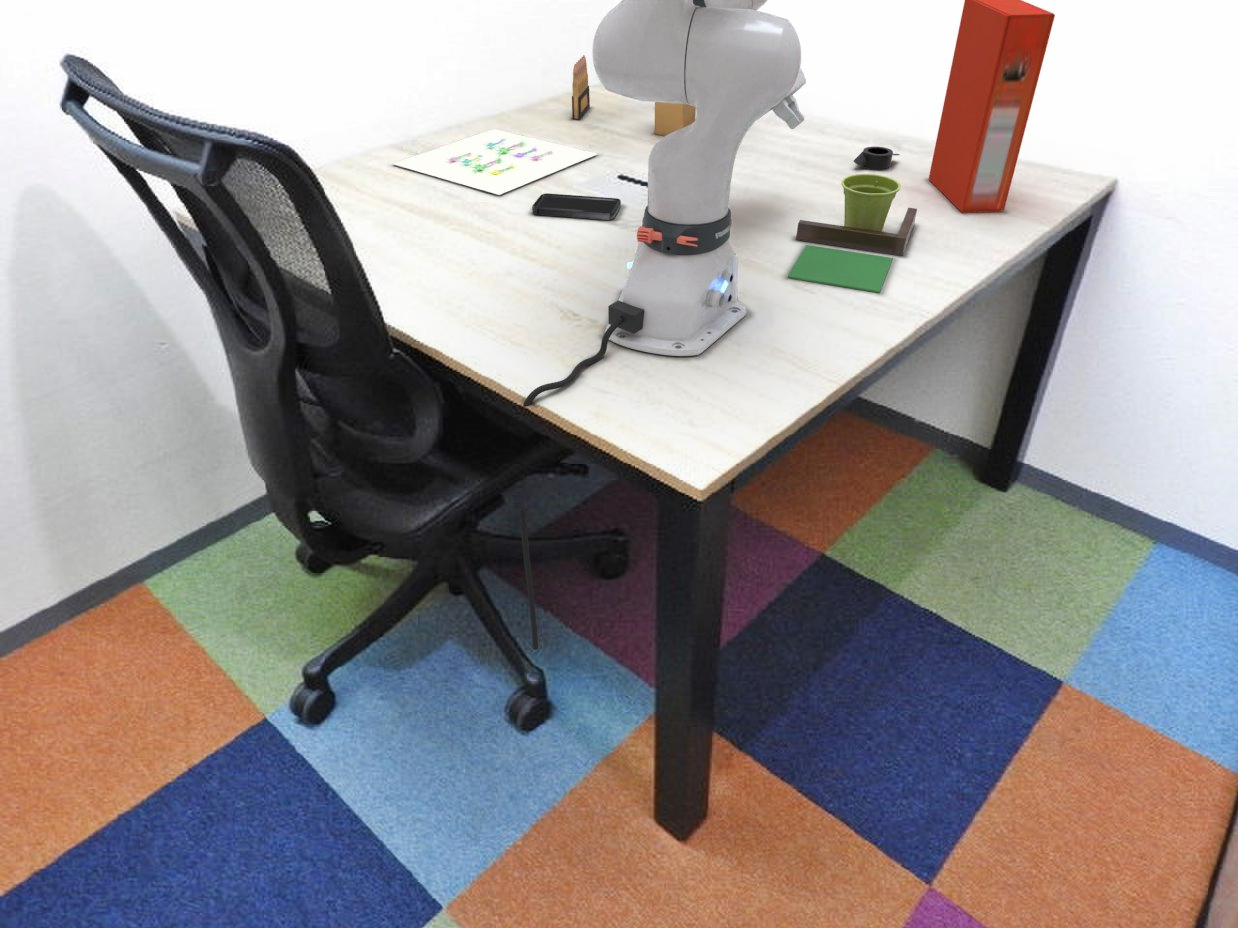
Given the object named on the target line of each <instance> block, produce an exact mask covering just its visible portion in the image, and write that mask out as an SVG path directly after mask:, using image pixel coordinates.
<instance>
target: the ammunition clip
mask: <svg viewBox="0 0 1238 928" xmlns="http://www.w3.org/2000/svg"><path fill="white" fill-rule="evenodd" d="M587 63H588V62H587V57H586V56H585V54H583V55H582V56H581V58H579V59H578V60H577V61H576V63H574V65H573V70H572V83H571V84H572V95H571V112H572V113H571V115H572V118H571V119H572V120H574V121H575V120H576V121H577V120H578V121H581V120H582V118H583V117H584V116H585V115H586V114H587V112H588V111H589V110H590V109H591V103H590V101H591V100H590V99H591V98H590V85H589V73H588V64H587Z"/></svg>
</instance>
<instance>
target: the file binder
mask: <svg viewBox="0 0 1238 928" xmlns="http://www.w3.org/2000/svg"><path fill="white" fill-rule="evenodd" d="M1055 17H1056V14H1055V13H1053V12H1051V11H1048V10H1046V9H1044V8H1042V7H1039V6H1037V5H1034V4H1032V3H1030V2H1027V1H1025V0H964V2H963V7H962V12H961V17H960V22H959V25H958V26H959V28H958V32H957V36H956V40H955V41H956V42H955V45H954V51H953V55H952V56H953V57H952V62H951V66H950V71H949V76H948V81H947V86H946V90H945V96H944V100H943V106H942V111H941V115H940V120H939V126H938V130H937V136H936V140H935V145H934V149H933V155H932V159H931V165H930V168H929V169H930V170H929V175H928V181H930V183H932V185H933V186H934V187H936V189H937V190H938V191H939V192H940V193H941V194H943V196H945V198H947V200H949V202H951V203H952V204H953V206H954V207H956V209H957V210H958V211H959V212H960V213H961V214H972V213H973V214H975V213H1001V212H1002V211H1005V209H1006V204H1007V201H1008V197H1009V193H1010V189H1011V185H1012V181H1013V178H1014V173H1015V171H1016V165H1017V162H1018V158H1019V155H1020V151H1021V148H1022V143H1023V139H1024V136H1025V133H1026V132H1025V131H1026V128H1027V123H1028V120H1029V116H1030V112H1031V108H1032V105H1033V101H1034V97H1035V94H1036V89H1037V86H1038V83H1039V82H1038V81H1039V79H1040V74H1041V70H1042V66H1043V62H1044V59H1045V55H1046V51H1047V47H1048V45H1049V44H1048V43H1049V40H1050V36H1051V32H1052V28H1053V25H1054V21H1055Z"/></svg>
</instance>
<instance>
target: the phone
mask: <svg viewBox="0 0 1238 928" xmlns="http://www.w3.org/2000/svg"><path fill="white" fill-rule="evenodd" d="M621 200H622V199H620V198H618V197H617V198H615V197H604V196H603V197H601V196H590V195H574V194H564V193H563V194H562V193H561V194H560V193H549V192H548V193H542V194H540V196H539V197H538V198H537V199H536V200H535V202H534V203H533V204H532V206H531V210H532V212H531V213H532V214H534V215H536V216H537V215H538V216H548V217H549V216H550V217H551V216H552V217H561V218H562V217H564V218H576V219H577V218H578V219H590V220H602V221H611V220H614V219H615V218H616V216H617V214H618V213H619V211H620V209H621V207H622V205H621V203H622V201H621Z"/></svg>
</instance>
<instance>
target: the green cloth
mask: <svg viewBox="0 0 1238 928" xmlns="http://www.w3.org/2000/svg"><path fill="white" fill-rule="evenodd" d="M892 262H893V257H889V256H882V255H876V254H871V253H870V254H869V253H863V252H855V251H850V250H849V251H848V250H844V249H843V250H842V249H837V248H829V247H823V246H817V245H809V244H805V246H804V248H803V250H802V251H801V253H800V254H799V256H798V258H797V260H796V261H795V263H794V264H793V267H792V268H791V270H790V271H789V273H788V275H787V279H792V280H799V281H804V282H809V283H817V284H822V285H827V286H835V287H841V288H846V289H853V290H859V291H865V292H871V293H877V294H880V293H881V290H882V287H883V286H884V282H885V279H886V278H887V275H888V272H889V270H890V267H891V265H892Z"/></svg>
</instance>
